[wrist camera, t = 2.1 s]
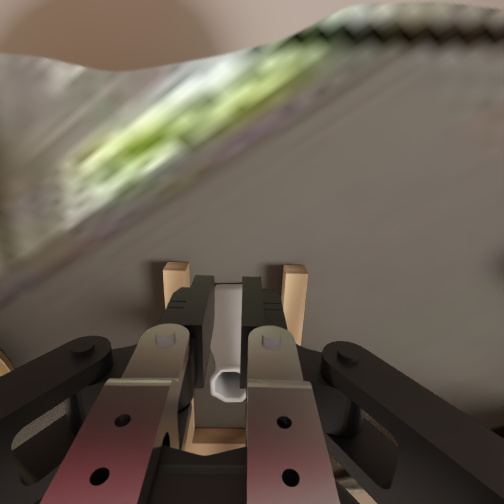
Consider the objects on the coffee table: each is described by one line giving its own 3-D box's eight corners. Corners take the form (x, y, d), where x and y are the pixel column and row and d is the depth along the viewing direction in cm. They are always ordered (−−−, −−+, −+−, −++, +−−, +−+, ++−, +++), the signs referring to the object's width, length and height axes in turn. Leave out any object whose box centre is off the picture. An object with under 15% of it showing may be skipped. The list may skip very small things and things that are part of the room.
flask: (191, 333, 33) (170, 411, 24) (210, 272, 31) (195, 332, 22) (258, 350, 34) (262, 432, 25) (281, 292, 32) (295, 359, 22)
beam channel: (304, 265, 31) (309, 275, 29) (287, 441, 39) (289, 459, 36) (167, 261, 30) (161, 271, 28) (177, 440, 38) (173, 458, 36)
